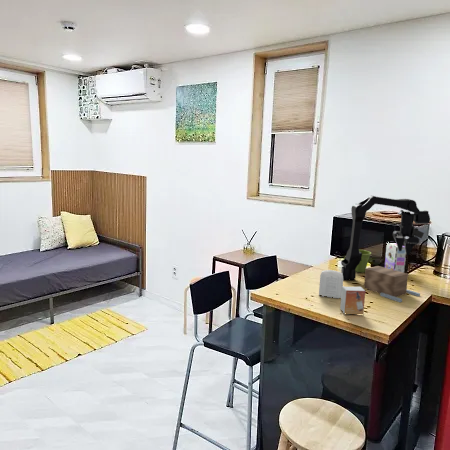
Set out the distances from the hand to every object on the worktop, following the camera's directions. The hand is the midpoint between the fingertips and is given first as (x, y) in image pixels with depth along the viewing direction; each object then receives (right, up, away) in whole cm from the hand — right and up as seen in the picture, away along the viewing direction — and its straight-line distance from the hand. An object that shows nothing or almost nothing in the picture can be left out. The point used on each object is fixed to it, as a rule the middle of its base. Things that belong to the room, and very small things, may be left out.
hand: (404, 253), depth 202 cm
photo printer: (-45, -18, -24) cm, 54 cm away
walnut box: (-16, -17, -15) cm, 28 cm away
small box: (-41, -22, -43) cm, 64 cm away
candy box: (+2, -12, +16) cm, 21 cm away
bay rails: (-12, -18, -21) cm, 30 cm away
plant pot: (-17, -12, +19) cm, 28 cm away
